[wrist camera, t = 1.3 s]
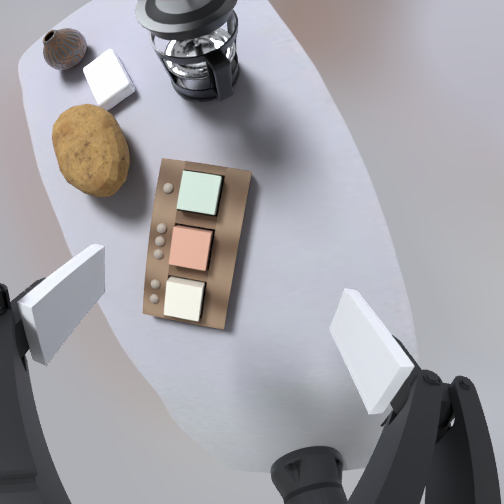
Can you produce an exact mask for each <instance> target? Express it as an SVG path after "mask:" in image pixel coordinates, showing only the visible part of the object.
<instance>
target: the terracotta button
mask: <svg viewBox="0 0 504 504" xmlns="http://www.w3.org/2000/svg"><path fill="white" fill-rule="evenodd" d="M212 237H213V230H207V229H201V228H195V227H189V226H183V225H177V226H175V227H173V234H172V242H171V249H170V257H169V264H171V265H176V266H182V267H187V268H192V269H198V270H204V271H205V270H206V268H207V266H208V262H209V255H210V249H211V243H212Z"/></svg>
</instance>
